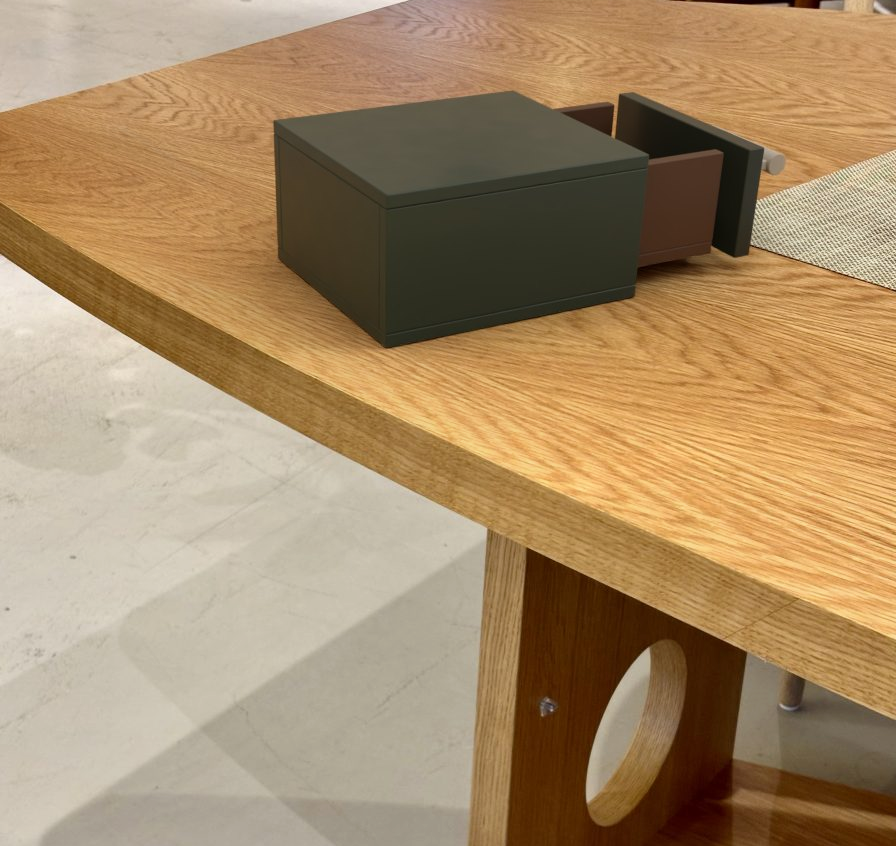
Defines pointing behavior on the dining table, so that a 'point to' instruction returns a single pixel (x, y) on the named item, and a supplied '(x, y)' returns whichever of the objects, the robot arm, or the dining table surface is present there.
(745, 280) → the dining table surface
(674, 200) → the drawer
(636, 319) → the dining table surface
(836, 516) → the dining table surface
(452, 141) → the cabinet
